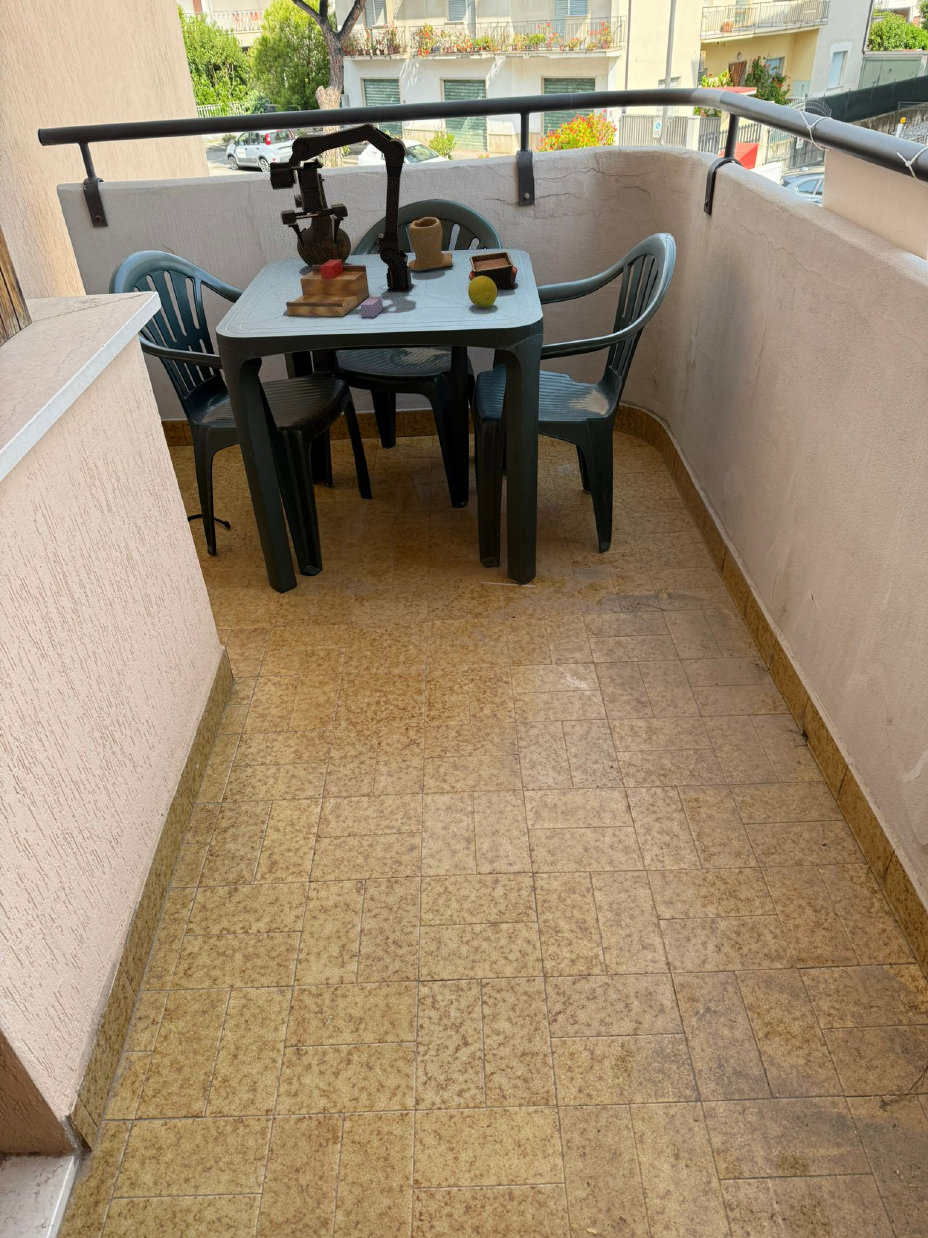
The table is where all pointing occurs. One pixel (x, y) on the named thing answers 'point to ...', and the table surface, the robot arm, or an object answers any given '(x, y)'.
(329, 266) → the red nougat bar
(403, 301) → the table surface
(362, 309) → the lilac nougat bar
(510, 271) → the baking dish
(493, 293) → the lemon
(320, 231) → the glass bottle
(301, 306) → the pine rack
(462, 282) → the table surface
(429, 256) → the tan hollow boot-shaped piece
